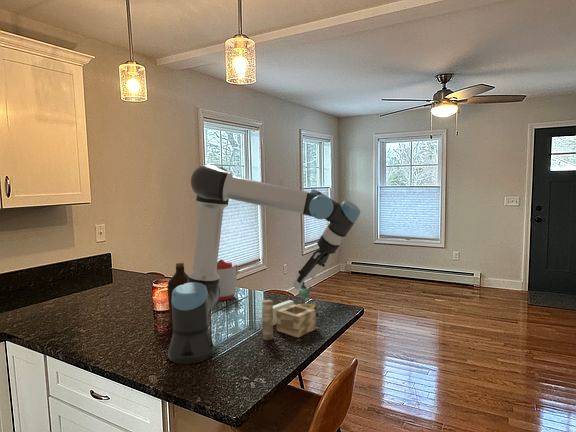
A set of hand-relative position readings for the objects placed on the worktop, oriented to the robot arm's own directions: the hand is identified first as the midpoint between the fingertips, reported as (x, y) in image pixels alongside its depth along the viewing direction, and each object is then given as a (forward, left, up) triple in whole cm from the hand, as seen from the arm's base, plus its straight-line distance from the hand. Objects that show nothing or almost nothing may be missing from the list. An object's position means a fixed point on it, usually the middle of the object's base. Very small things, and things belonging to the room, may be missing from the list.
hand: (303, 281), depth 150 cm
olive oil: (-25, +46, -20) cm, 56 cm away
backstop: (+2, +15, -20) cm, 25 cm away
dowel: (-14, +6, -20) cm, 25 cm away
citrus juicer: (+9, +60, -20) cm, 64 cm away
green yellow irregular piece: (+20, +17, -20) cm, 33 cm away
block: (-1, +3, -20) cm, 20 cm away
